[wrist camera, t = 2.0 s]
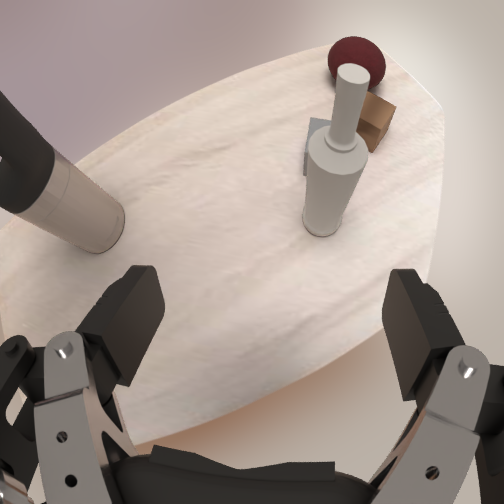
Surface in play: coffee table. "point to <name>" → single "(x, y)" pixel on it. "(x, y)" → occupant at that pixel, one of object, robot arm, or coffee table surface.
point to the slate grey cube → (313, 126)
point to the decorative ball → (358, 57)
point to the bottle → (336, 155)
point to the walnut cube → (374, 120)
